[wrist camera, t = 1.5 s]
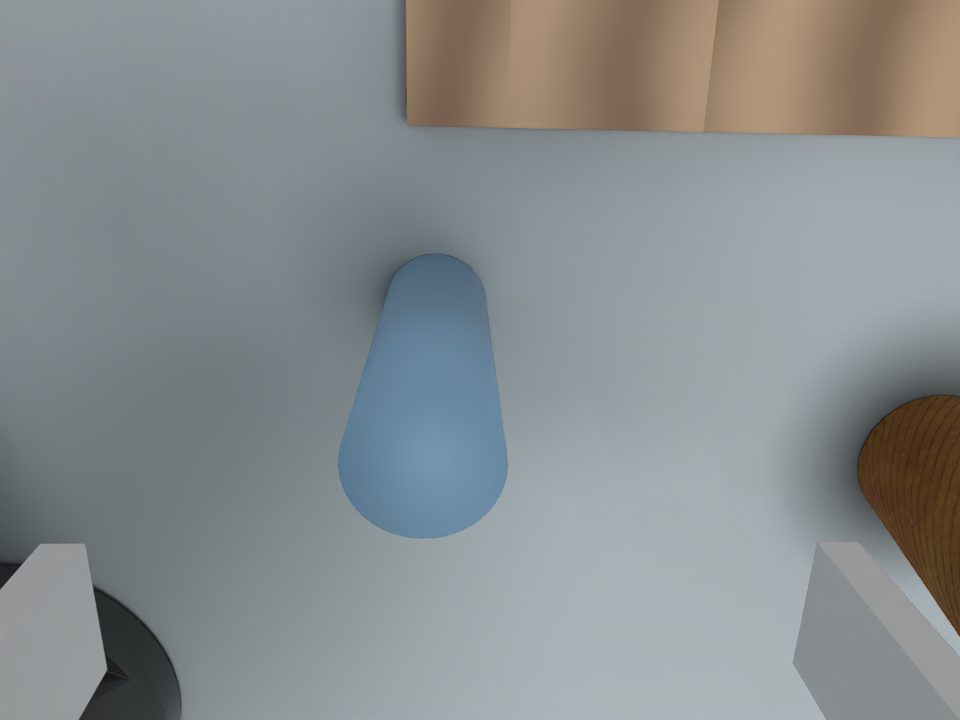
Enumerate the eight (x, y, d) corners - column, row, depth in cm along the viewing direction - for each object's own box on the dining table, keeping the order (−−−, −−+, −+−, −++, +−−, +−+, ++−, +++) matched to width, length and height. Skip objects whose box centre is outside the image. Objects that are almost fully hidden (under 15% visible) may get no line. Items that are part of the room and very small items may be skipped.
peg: (387, 348, 32) (342, 538, 19) (386, 253, 31) (334, 387, 18) (484, 349, 32) (504, 538, 19) (486, 254, 31) (510, 388, 18)
